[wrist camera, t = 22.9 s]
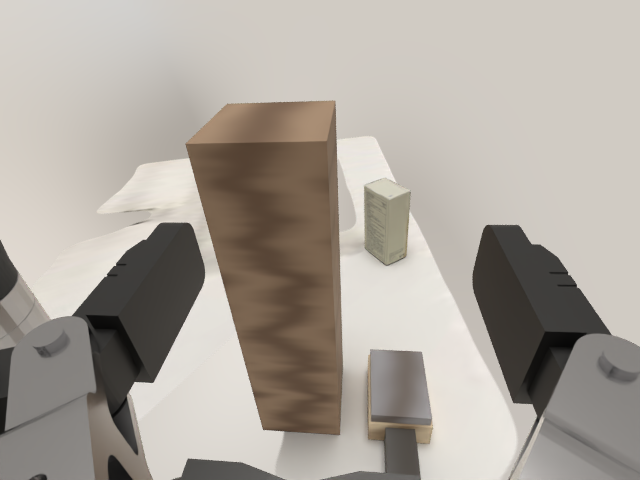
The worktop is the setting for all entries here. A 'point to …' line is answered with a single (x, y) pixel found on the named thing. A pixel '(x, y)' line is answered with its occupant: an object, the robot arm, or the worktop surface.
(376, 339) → the worktop surface
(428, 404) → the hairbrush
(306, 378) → the walnut stand
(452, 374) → the worktop surface
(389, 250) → the skincare box
